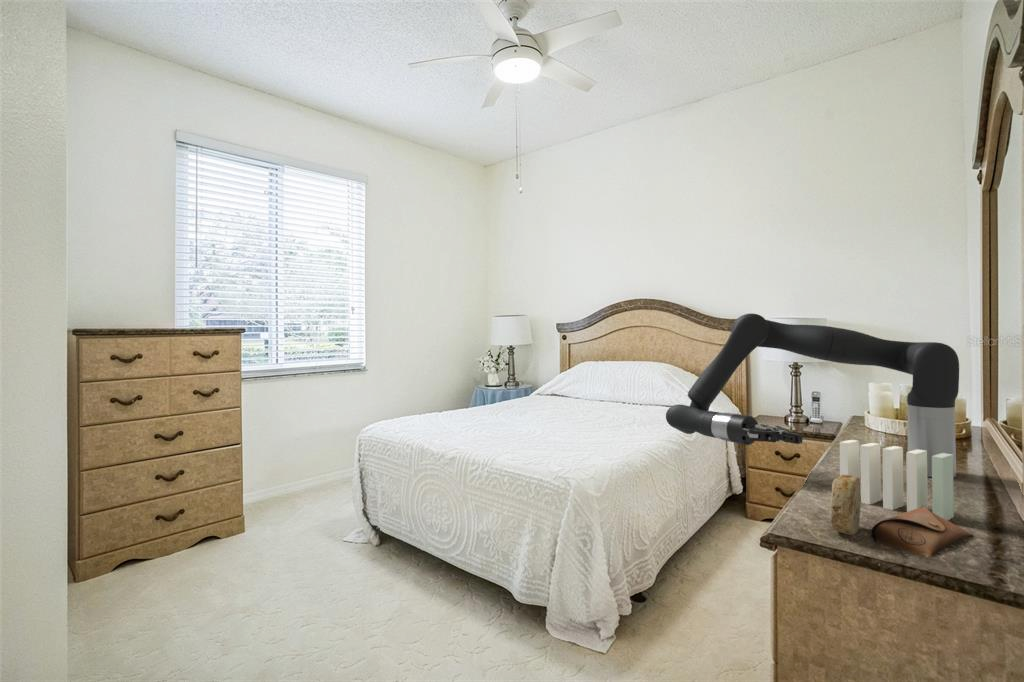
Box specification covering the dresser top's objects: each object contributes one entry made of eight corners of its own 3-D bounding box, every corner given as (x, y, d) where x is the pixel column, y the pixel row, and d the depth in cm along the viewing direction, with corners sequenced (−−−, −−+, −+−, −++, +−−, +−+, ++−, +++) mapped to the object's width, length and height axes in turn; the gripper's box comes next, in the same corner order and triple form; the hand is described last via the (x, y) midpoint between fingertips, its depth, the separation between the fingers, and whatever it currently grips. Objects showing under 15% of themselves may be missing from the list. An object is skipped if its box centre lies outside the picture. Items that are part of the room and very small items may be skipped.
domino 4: (907, 513, 96) (906, 452, 96) (917, 509, 99) (917, 449, 99) (917, 516, 95) (916, 453, 95) (927, 511, 98) (926, 450, 98)
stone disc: (840, 521, 93) (839, 468, 93) (864, 526, 90) (863, 471, 90) (826, 537, 85) (825, 479, 85) (852, 543, 83) (851, 483, 83)
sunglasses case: (932, 558, 76) (905, 515, 79) (887, 567, 82) (863, 525, 84) (976, 534, 86) (950, 496, 89) (932, 543, 91) (909, 507, 94)
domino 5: (932, 519, 93) (931, 456, 93) (943, 514, 96) (942, 452, 96) (943, 522, 92) (942, 457, 92) (953, 517, 94) (953, 454, 94)
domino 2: (861, 502, 103) (860, 445, 103) (872, 498, 106) (871, 442, 106) (869, 504, 102) (868, 446, 102) (880, 500, 104) (880, 443, 105)
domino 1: (840, 497, 107) (839, 442, 107) (851, 493, 109) (851, 439, 109) (848, 499, 105) (847, 443, 105) (859, 495, 108) (859, 440, 108)
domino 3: (883, 508, 100) (882, 448, 100) (894, 503, 102) (893, 445, 102) (892, 510, 98) (891, 450, 99) (903, 505, 101) (902, 447, 101)
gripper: (718, 415, 127) (785, 425, 113) (749, 412, 134) (816, 421, 119) (718, 444, 127) (784, 458, 113) (749, 439, 134) (815, 452, 119)
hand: (800, 439), depth 116 cm, fingers closed
